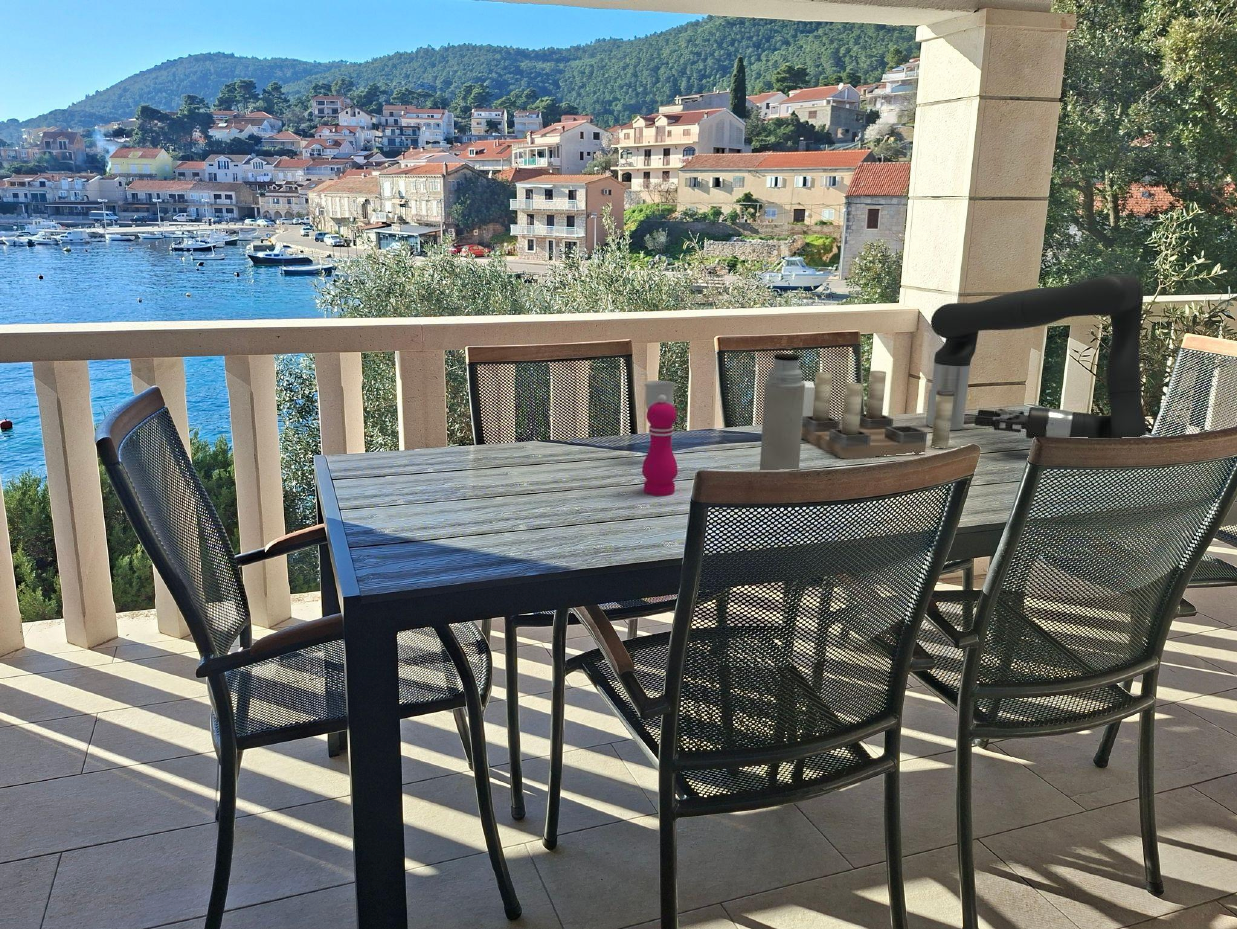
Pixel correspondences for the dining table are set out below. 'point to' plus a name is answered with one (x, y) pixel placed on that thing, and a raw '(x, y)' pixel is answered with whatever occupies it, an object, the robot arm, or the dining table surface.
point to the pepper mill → (660, 450)
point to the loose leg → (942, 418)
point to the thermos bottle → (782, 415)
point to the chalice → (659, 391)
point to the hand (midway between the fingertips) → (976, 417)
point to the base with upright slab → (808, 398)
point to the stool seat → (858, 423)
